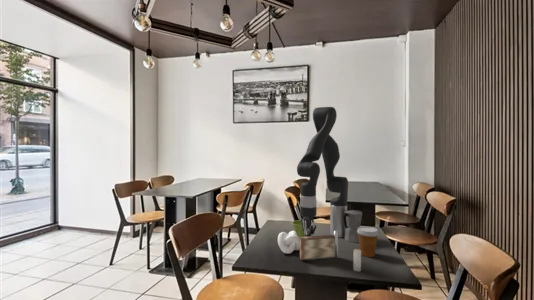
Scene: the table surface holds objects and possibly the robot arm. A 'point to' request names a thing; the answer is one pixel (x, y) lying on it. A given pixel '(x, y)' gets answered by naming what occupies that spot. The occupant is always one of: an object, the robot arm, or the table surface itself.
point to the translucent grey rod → (335, 244)
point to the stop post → (357, 260)
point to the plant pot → (298, 228)
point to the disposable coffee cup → (367, 240)
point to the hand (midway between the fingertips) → (308, 242)
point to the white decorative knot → (289, 242)
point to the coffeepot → (352, 224)
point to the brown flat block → (316, 246)
